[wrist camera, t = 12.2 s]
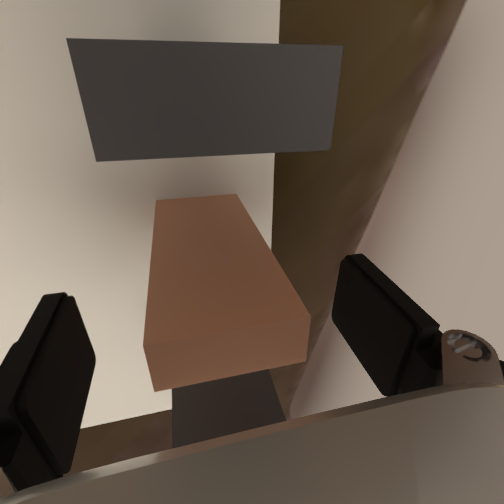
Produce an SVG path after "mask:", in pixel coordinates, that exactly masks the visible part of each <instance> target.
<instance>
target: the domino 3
mask: <svg viewBox="0 0 504 504" xmlns="http://www.w3.org/2000/svg"><path fill="white" fill-rule="evenodd" d="M284 421H286V419H285V416H284V413H283V410H282V407H281V404H280V401H279V399H278V396H277V393H276V390H275V387H274V384H273V381H272V379H271V376H270V373H269V370H268V369H266V370H261V371H256V372H251V373H246V374H241V375H236V376H231V377H226V378H222V379H217V380H212V381H207V382H202V383H197V384H192V385H187V386H182V387H178V388H173V389H172V438H173V448H177V447H181V446H185V445H189V444H193V443H198V442H202V441H206V440H210V439H214V438H218V437H222V436H226V435H230V434H234V433H238V432H242V431H247V430H251V429H255V428H259V427H263V426H267V425H271V424H275V423H280V422H284Z"/></svg>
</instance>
